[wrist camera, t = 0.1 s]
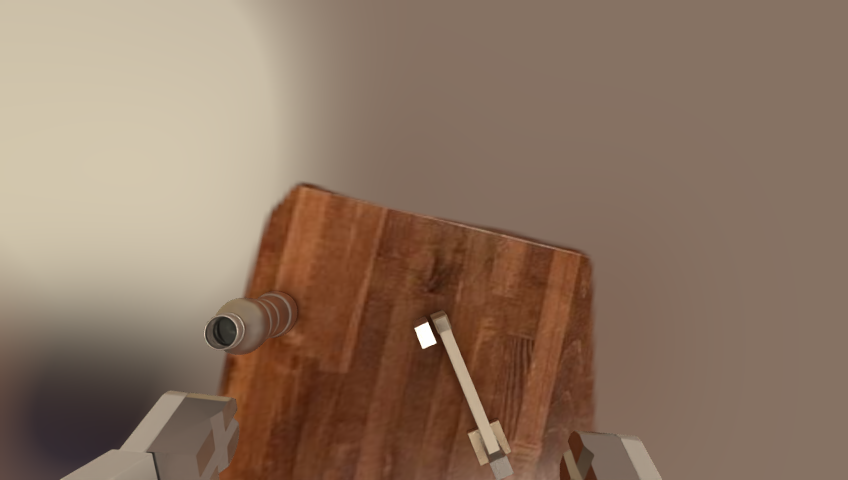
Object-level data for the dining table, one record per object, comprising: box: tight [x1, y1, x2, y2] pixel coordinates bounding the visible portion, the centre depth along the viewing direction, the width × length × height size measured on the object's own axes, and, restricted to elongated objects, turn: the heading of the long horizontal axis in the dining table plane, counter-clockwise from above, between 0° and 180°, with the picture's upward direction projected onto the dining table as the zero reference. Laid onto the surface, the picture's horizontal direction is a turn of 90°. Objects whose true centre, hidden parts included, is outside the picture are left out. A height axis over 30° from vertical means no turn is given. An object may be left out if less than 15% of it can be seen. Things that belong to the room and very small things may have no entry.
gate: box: [430, 310, 500, 454], centre depth 59 cm, size 19×2×6 cm, turn 22°
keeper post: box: [413, 316, 436, 349], centre depth 60 cm, size 3×2×8 cm, turn 22°
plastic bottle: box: [204, 291, 298, 355], centre depth 53 cm, size 6×7×20 cm
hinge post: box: [467, 418, 514, 480], centre depth 59 cm, size 5×5×9 cm
